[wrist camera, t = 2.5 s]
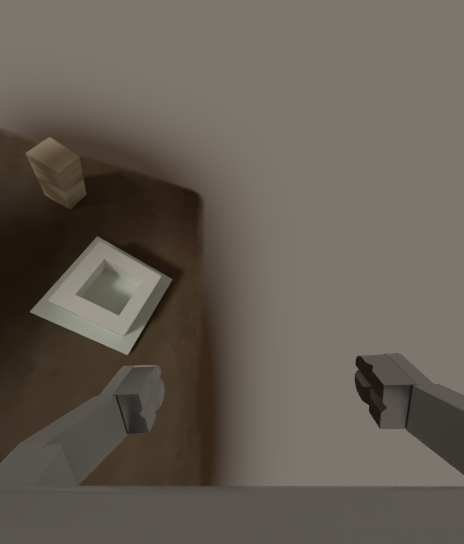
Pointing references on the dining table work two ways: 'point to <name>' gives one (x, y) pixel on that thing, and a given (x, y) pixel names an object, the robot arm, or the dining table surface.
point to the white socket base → (105, 296)
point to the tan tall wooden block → (58, 172)
